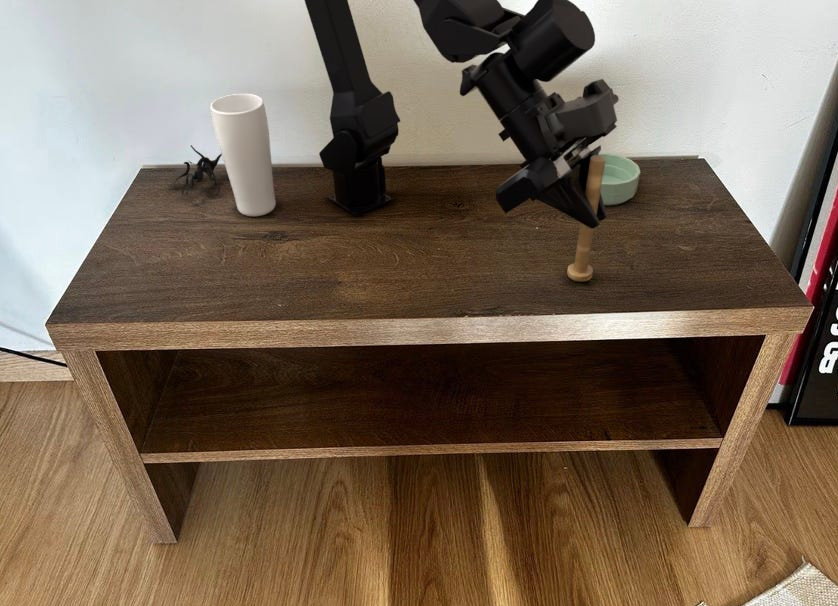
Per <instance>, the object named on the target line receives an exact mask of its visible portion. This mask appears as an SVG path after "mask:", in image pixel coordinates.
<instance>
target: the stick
mask: <svg viewBox="0 0 838 606" xmlns="http://www.w3.org/2000/svg"><path fill="white" fill-rule="evenodd" d="M605 161H606V159H605V157H603V156H599V155H595V156H592V157H591V158H590V165H589V171H588V178H587V184H586V191H585V195H586V197H587V199H588V201H589V202H590V204H591V206H592V208H593V210H594V212H595V214H596V215H597V209H598V203H599V197H600V191H601V185H602V179H603V173H604V167H605ZM578 230H579V231H578V238H577V244H576V250H575V257H574V262H572V263H571V264H569V265H568V267H567V271H566V275H567V277H568V278H569V279H571V280H572V281H574V282H580V283H581V282H582V283H584V282H587V281H591V279H592V278H593V274H594V269H593V267H592V266H591V265H590V264H589V262H590V255H591V250H592V243H593V238H594V232H595V228H593V229H591V228H589V227H588V226H586V225H584V224H582V223H581V222H580V225H579V229H578Z"/></svg>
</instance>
